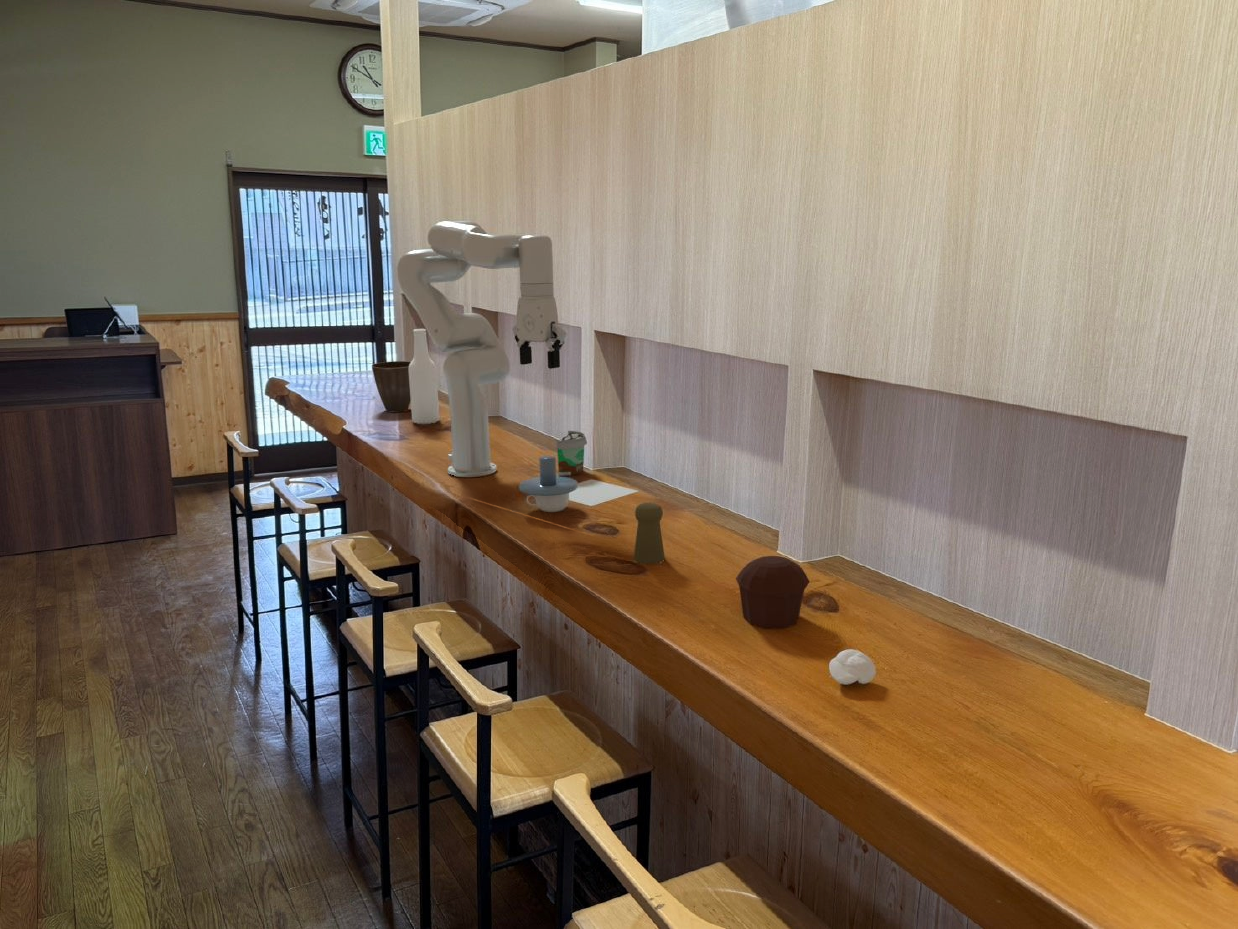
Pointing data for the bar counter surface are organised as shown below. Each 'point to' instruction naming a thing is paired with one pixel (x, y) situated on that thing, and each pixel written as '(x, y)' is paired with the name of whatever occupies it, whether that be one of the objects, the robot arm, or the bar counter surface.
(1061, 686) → the bar counter surface
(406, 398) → the plant pot
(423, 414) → the alcohol
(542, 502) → the teacup
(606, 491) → the mat
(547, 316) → the robot arm
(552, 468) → the lid
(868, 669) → the dumpling
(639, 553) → the cork
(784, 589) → the muffin
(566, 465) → the food container
